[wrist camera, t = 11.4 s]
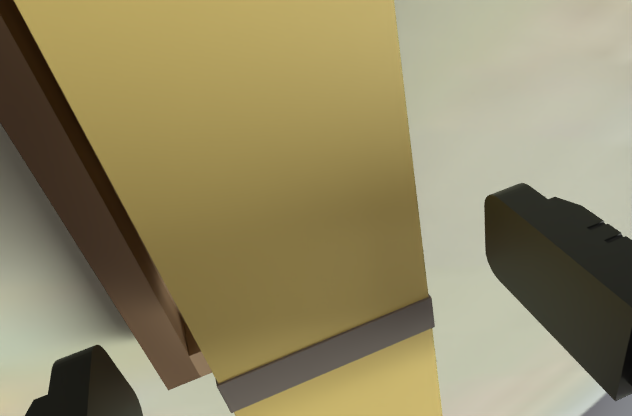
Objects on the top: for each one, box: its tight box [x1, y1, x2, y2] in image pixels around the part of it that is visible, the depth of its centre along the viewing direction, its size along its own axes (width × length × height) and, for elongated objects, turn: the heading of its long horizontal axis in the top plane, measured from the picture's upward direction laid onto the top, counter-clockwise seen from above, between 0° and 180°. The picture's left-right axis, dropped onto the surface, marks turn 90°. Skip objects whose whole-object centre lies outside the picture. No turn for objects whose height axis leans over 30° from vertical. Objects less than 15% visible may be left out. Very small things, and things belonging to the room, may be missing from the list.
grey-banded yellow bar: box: [14, 0, 442, 416], centre depth 9 cm, size 4×13×7 cm, turn 12°
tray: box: [0, 0, 212, 390], centre depth 11 cm, size 8×18×2 cm, turn 12°
